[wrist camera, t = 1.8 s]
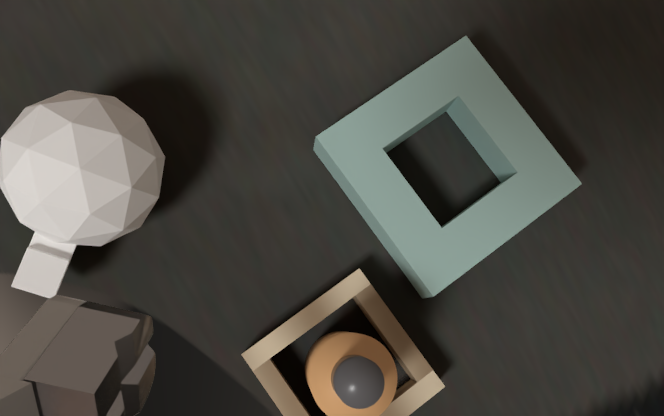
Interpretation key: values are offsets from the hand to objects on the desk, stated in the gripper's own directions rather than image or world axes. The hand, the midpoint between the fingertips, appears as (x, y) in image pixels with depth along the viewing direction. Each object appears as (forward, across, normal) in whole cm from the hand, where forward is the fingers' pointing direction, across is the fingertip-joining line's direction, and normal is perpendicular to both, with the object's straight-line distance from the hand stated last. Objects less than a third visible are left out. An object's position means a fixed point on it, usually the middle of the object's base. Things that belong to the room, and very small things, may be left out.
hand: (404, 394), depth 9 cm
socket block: (+30, -3, +13) cm, 33 cm away
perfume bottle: (+24, +19, +16) cm, 35 cm away
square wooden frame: (+20, +1, +22) cm, 30 cm away
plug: (+20, +1, +22) cm, 30 cm away
